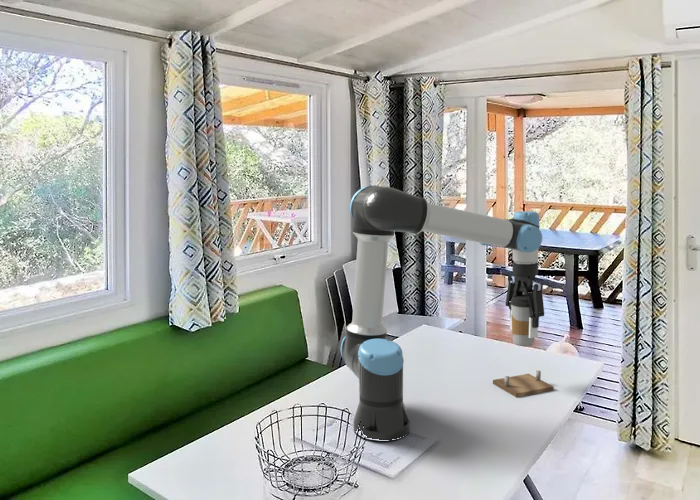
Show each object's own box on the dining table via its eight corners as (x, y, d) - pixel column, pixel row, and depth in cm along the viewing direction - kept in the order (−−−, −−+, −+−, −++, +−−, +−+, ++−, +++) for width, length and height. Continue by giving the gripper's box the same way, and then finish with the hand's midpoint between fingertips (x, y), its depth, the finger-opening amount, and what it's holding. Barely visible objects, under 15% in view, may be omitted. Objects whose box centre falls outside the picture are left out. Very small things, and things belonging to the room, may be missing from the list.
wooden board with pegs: (516, 397, 173) (516, 384, 172) (492, 383, 184) (492, 371, 184) (553, 390, 178) (553, 377, 177) (528, 377, 189) (528, 364, 188)
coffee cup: (539, 348, 174) (540, 300, 172) (510, 347, 176) (511, 299, 174) (535, 340, 182) (536, 294, 180) (508, 339, 184) (509, 293, 182)
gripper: (559, 266, 167) (556, 341, 170) (513, 256, 186) (512, 323, 190) (538, 268, 164) (536, 344, 167) (494, 257, 184) (493, 326, 187)
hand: (523, 333), depth 179 cm, fingers closed on coffee cup, 8 cm apart
